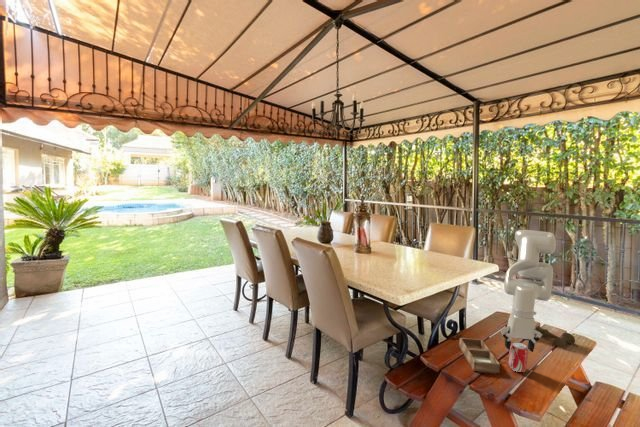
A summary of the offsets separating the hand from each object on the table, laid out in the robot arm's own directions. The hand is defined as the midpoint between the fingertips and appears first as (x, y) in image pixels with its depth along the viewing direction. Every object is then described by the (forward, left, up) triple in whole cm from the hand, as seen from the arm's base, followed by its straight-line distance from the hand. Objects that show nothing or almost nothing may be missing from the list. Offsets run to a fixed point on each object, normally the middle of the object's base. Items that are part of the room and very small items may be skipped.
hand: (519, 349), depth 140 cm
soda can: (-1, 0, -11) cm, 11 cm away
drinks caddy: (-7, -15, -10) cm, 19 cm away
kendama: (-29, +34, -11) cm, 46 cm away
